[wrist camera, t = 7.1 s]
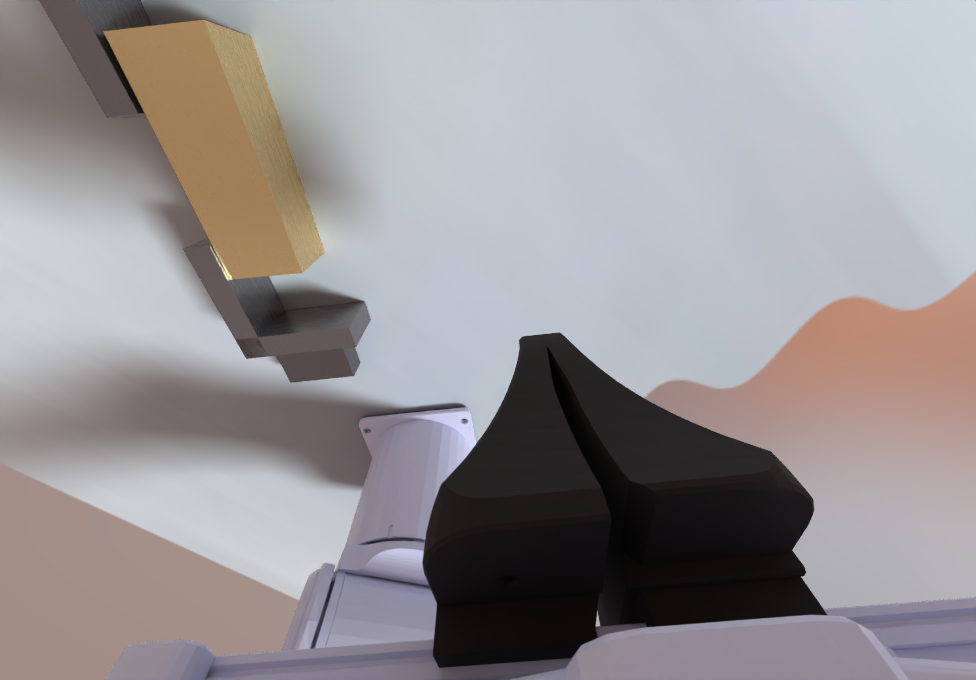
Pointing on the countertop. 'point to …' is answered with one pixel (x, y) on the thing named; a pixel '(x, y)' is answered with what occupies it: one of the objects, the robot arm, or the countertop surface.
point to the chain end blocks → (241, 302)
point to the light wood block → (223, 142)
